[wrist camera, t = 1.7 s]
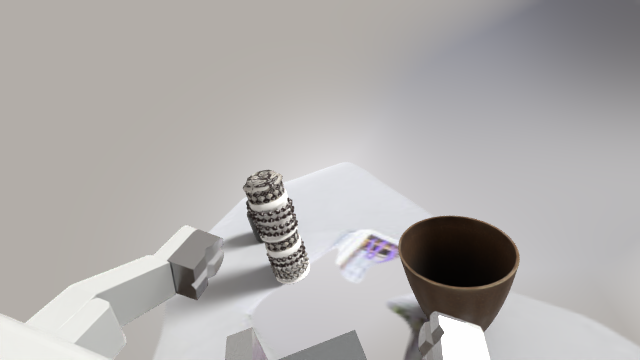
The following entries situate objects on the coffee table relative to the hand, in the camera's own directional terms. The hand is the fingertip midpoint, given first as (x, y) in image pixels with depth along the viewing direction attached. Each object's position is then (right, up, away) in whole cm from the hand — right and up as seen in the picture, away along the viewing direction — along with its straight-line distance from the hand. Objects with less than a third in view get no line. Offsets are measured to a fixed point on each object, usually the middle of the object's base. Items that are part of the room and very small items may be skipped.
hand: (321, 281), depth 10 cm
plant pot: (+22, -20, +35) cm, 45 cm away
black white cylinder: (-6, -18, +54) cm, 57 cm away
